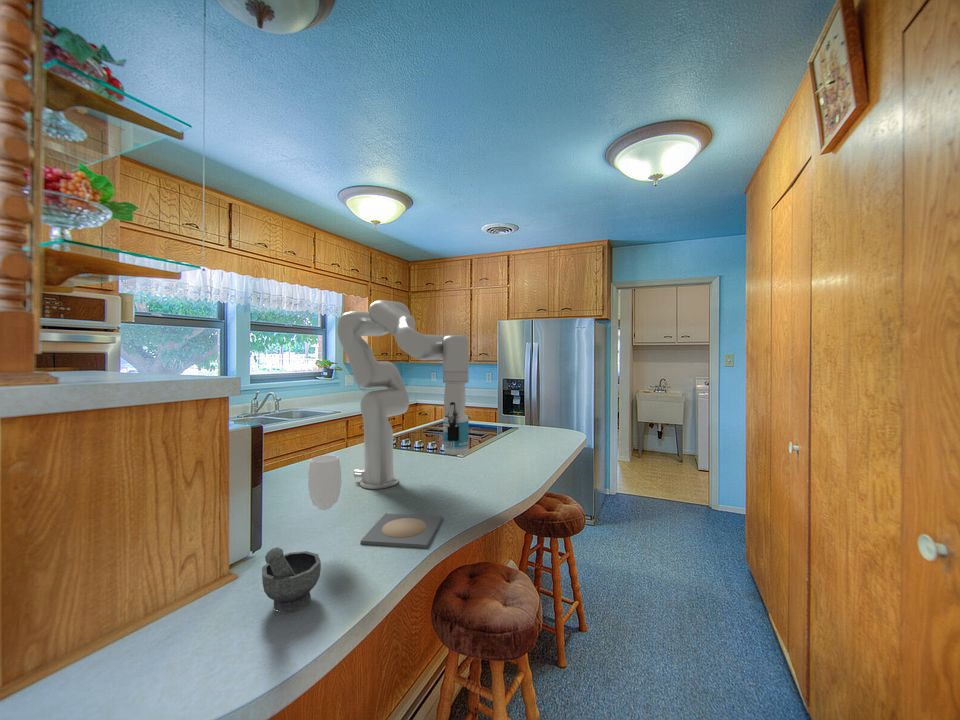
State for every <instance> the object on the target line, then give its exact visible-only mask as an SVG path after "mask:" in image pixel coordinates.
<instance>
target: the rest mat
mask: <svg viewBox="0 0 960 720" xmlns="http://www.w3.org/2000/svg"><path fill="white" fill-rule="evenodd" d="M382 515H383V516H381V517H380V518H379V519H378V521H377V522H376V523H375V524H374V525H373V526H372V527H371V529H370V530H369V531H368V532H367V533H366V534H365V535H364V536H363V537H362V538H361V540H360V545H370V546H386V547H403V548H404V547H405V548H417V549H418V548H419V549H428V547H429V545H430V543H432V542H431V541H432V540H433V538H434V536H435V534H436V532H437V531H438V529H439V527H440V525H441V523H442V522H443V520H442V519H444V517H443V515H442V516H441V515H425V514H405V513H387V512H386V513H384V514H382Z"/></svg>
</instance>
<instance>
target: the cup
mask: <svg viewBox="0 0 960 720" xmlns="http://www.w3.org/2000/svg"><path fill="white" fill-rule="evenodd" d="M308 463H309V464H308V471H307V489H308V493H309V499H310V501H311V503H312V505H313V506H314V507H316V508H317V509H319V510H322V511H327V510H329V509H331V508H332V507H333V505H335V504H336V503H337V502H338V501H339V497H340V494H341V488H342V467H341V464H340V463H341V462H340V457H339V456H337V455H331V454H328V455H325V454H324V455H318V456H315V457H312V458H310V460H309V462H308Z"/></svg>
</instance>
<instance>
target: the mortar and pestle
mask: <svg viewBox="0 0 960 720" xmlns="http://www.w3.org/2000/svg"><path fill="white" fill-rule="evenodd" d="M264 559H265V560H264V561H265V563H266V564H265V565H263V566H262V567H261V576H262V577H261V579H262V581H261V582H262V587H263V592H264V593H265V595H266V596H267V597H268V598H269V599H270V600H272V601H273V610H274V609H275V610H278V611H280V612H282V613H281V614H284V613H283V612H288V613H295V612H296V611H299V610H301V609H302V608H303V609H304V608H305V607H306V606H307V605H308V604H309V603H310V602H311V598H312V596H311V591H312V590H313V589H314V587H315V586H316V585H317V583H318V581H319V579H320V575H321V568H322V567H321V566H322V565H321V559H320V556H319V554H318V553H315V552H311V551H307V550H306V551H303V550H302V551H295V552H287V553H285V554H284V550H283V549H282V548H280V547H278V546H277V547H274V548H271V549H270V550H269V551H268V552H267V553H266V554H265V556H264ZM300 608H301V609H300ZM275 610H274V611H275ZM294 611H295V612H294ZM280 612H279V613H280Z"/></svg>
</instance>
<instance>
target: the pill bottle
mask: <svg viewBox="0 0 960 720" xmlns="http://www.w3.org/2000/svg"><path fill="white" fill-rule="evenodd" d="M463 410H464V409H463ZM448 414H449V413H448ZM454 416H457V415H454ZM455 420H456V419H455ZM442 421H443V422H442V424H443V425H442V429H443V430H442V431H443V439H442V440H443V452H444V453H445V454H447V455H456V456H457V455H458V456H459V455H463V454H467V453H468V452H469V451H470V450H469V449H470V448H469V447H470V444H469V443H470V442H469V441H470V438H469V426H470V425H469V424H470V423H469V422H470V421H469V416H468V414H466V413H465V412H464V413H463V414H462V416H461V417H459V419H458V427H459V441H448V416H446V418H445V417H444V416H443V420H442Z"/></svg>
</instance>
